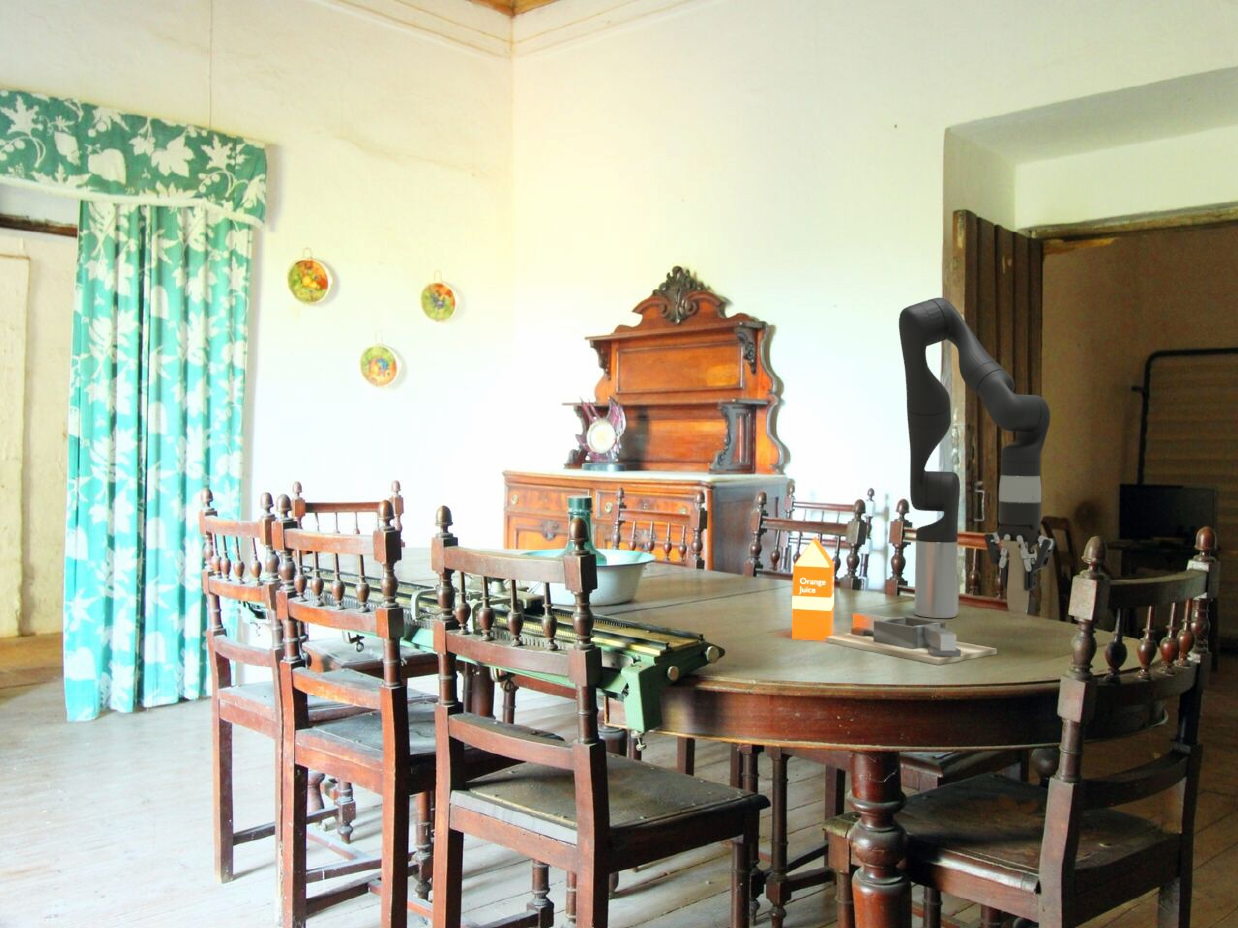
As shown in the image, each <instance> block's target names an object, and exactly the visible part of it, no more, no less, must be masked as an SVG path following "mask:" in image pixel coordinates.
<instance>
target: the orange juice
mask: <svg viewBox="0 0 1238 928" xmlns="http://www.w3.org/2000/svg"><path fill="white" fill-rule="evenodd" d="M791 599H792V600H791V601H792V606H791V607H792V608H791V609H792V614H791V615H792V616H791V617H792V620H791V621H792V623H791V625H792V626H791V639H793V640H810V641H822V642H823V641H824V642H826V637H828V636H834V607H835V606H834V605H835V562H834V561H833V560H832V558H831V557H830V555H829V554H828V552H827V551H826V549H825V548H824V547H823V545H822V543H821V542H820V541H819V539H818V537H817V536H815V537H814V538H813V539H812V540H811V541H810V542H809V544H808V545H807V547H806V548H805V549H804V550H803V552H802V553H801V555H800V556H799V557H798V559H797V560H796V561H795V563H794V564H793V566H792V598H791Z"/></svg>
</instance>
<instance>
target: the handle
mask: <svg viewBox="0 0 1238 928" xmlns="http://www.w3.org/2000/svg"><path fill="white" fill-rule="evenodd" d="M1019 544H1021V542H1017V541H1006V540H1000V547H1001V548H1002V547H1003V548H1004V549H1006V550H1008V551H1009V571H1008V582H1007V588H1006V598H1007V599H1006V601H1007V602H1006V603H1007V609H1008V617H1009V619H1011V620H1016V621H1020V620H1023V621H1024V620H1027V617H1028V613H1027V611H1028V608H1029V602H1030V600H1029V599H1030V591H1025V571H1027V570H1026V568H1025V564H1024V560H1023V559H1022V557H1021V552H1020V551H1021V550H1023V544H1021V545H1022V548H1020V545H1019ZM1025 544H1026V547H1027V549H1028V542H1025ZM1037 548H1038V544H1037V545H1036V542H1035V544H1034V545H1033V546H1032V548H1031V551H1032V550H1034V549H1036V550H1037ZM1028 553H1029V552H1028Z"/></svg>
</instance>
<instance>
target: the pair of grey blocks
mask: <svg viewBox="0 0 1238 928" xmlns="http://www.w3.org/2000/svg"><path fill="white" fill-rule="evenodd" d="M891 618H893V616H886V615H885V616H884V615H878V614H874V613H867V612H855V613H852V627H851V629H850V631H851V632H850V633H851V634H852V635H857V636H862V637H865V636H871V635H874V621H877V620H878V621H879V620H884V619H891ZM923 626H924V637H923V641H924V642H926V643H928V644H930V645H932V646H933V647H928V654H930V655H932V656H940V657H961V650H960V649H958V648H956V641H957V634H955V633H953V632H951V631H949V630H947V629H946V628H945V629H943V628H941V627H939V626H937V625H923Z"/></svg>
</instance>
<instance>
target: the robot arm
mask: <svg viewBox="0 0 1238 928" xmlns="http://www.w3.org/2000/svg"><path fill="white" fill-rule="evenodd" d="M898 330H899V331H898V333H899V339H900V345H901V352H902V359H903V365H904V372H905V373H904V375H905V376H904V377H905V386H906V413H907V414H906V415H907V427H908V439H909V452H910V454H909V455H910V459H909V460H910V461H909V463H910V467H909V468H910V470H909V471H910V472H909V473H910V474H909V476H910V477H909V495H910V502H911V505H912V507H913V508H914V509H915V510H917V511H920V512H921V511H922V512H943V516H941V518H940V519H938V520H936V521H935V522H932V523H930V524H925V525H922V526H919V527H918V528H917V529H916V531H915V570H914V571H915V573H914V577H915V578H914V583H915V584H914V615H916V616H919V617H923V618H925V617H926V618H932V619H933V618H934V619H951V618H955V617H956V616H958V615H959V597H960V596H959V595H960V593H959V589H960V586H959V584H960V583H959V581H960V575H959V574H958V546H959V545H958V539H959V534H958V531H959V530H958V529H959V528H958V527H959V526H958V525H959V524H958V522H959V510H960V509H959V508H960V497H961V481H960V477H959V474H958V473H957V472H955V471H939V470H938V471H935V470H934V471H933V470H932V471H931V470H926V466H927V463H928V461H929V459H930V457H931V455H932V453H933V452H934V451H935V449H936V448H937V447H938V446H939V444H940V443H941V442H942V440H943V439H945V436H946V434H948V432H949V430H950V427H951V423H952V415H951V413H952V412H951V406H952V405H951V397H950V394H949V392H948V390H947V389H946V387H945V385H943V383H942V382H941V381H940V380H939V379H938V378H937V377H936V375H934V373H933V372H932V370H931V369H930V367H929V365H928V361H927V354H926V353H927V352H926V351H927V347H929V346H931V345H935V344H938V343H941V342H944V341H946V340H947V341H948V342H950V343H951V344H953V345H954V346H955V347H956V349H957V353H958V368H959V373H960V376H961V378H962V379H963V382H964V383H965V384H966V386H967V387H969V388H970V390H972V392H974V394H975V395H977V397H978V398H979V399H980V400H982V403H983V406H984V407H985V410H986V411H987V413H988V415H989V417H990V419H991V421H992V422H993V423H994V424H995V425H996V426H997V427H999V428H1000V429H1002V430H1004V431H1005V432H1017V433H1016V437H1015V440H1014V442H1012V443H1011V444H1007V445H1005V446H1004V447H1003V448H1002V449H1001V455H1000V479H999V486H998V518H997V519H998V520H997V521H998V523H999V525H998V529H997V530H996V532H995V531H994V532H991V533H985V534H984V536H983V539H984V542H985V545H986V549H987V552H988V555H989V560H990V563H991V564H992V565H997V566H998V567H999V568H1000V578H999V579H1000V581H999V582H1000V584H1001V585H1002V588H1003V589H1007V582H1008V571H1009V551H1008V550H1006V549H1004V548H1003V547H1002V546H1000V544H999V543H1000V542H1001V540H1006V541H1017V542H1021V544H1023V550H1021V551H1020V552H1021V557H1022V559H1023V560H1024V564H1025V568H1026V570H1027V571H1025V591H1029V592H1032V591H1034V590H1035V588H1037V585H1038V584H1037V581H1038V577H1037V576H1038V571H1039V570H1042V569H1046V568H1047V567H1048V565H1049V561H1050V559H1051V556H1052V554H1053V551H1054V549H1055V545H1056V539H1054V538H1053V537H1052V538H1048V537H1046V536H1044V535H1042V532H1041V529H1040V528H1041V527H1040V525H1041V522H1042V521H1041V519H1042V516H1041V515H1042V513H1041V512H1042V484H1041V453H1042V450H1043V448H1044V445H1045V441H1046V437H1047V434H1048V430H1049V427H1050V422H1051V412H1050V406H1049V404H1048V402H1047V401H1046V400H1045V399H1044V398H1043V397H1041V396H1040V395H1037V394H1017V393H1015V392H1014V390H1015V388H1016V387H1015V380H1014V379H1013V377H1012V376H1011V375H1010V374H1009V373H1008V372H1007V371H1006V370H1005V368H1003V367H1002V366H1001V365H1000V364H999V363H998V362H997V361H996V360H995V359H994V358H993V357H992V356H991V355H990V354H989V353H988V352H987V350H986V349H985V348H984V347H983V346H982V344H981V343H980V341H979V340H978V338H977V337H976V335H975V334H974V332H973V331H972V330H971V328H970V327H969V325H968V324H967V323H966V321H965V319H964V318H963V317H962V315H961V314H960V312H959V311H958V309H957V308H955V306H954V305H953V304H952V303H951V301H949V300H947V299H946V298H943V297H934V298H930V299H928V300H924V301H921V302H918V303H914V304H912V305H909V306H907V307H905V308H903V309H902V310H901V311H900V313H899V317H898ZM1025 542H1028V549H1027V547H1026V544H1025ZM1035 542H1036V545H1037V546H1039V550H1038V553H1037V548H1036V549H1034V550H1032V551H1031V548H1032V546H1033V545H1034V544H1035ZM1038 543H1039V544H1038ZM1021 544H1019V545H1020V548H1022V545H1021ZM1028 552H1029V553H1028Z"/></svg>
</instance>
